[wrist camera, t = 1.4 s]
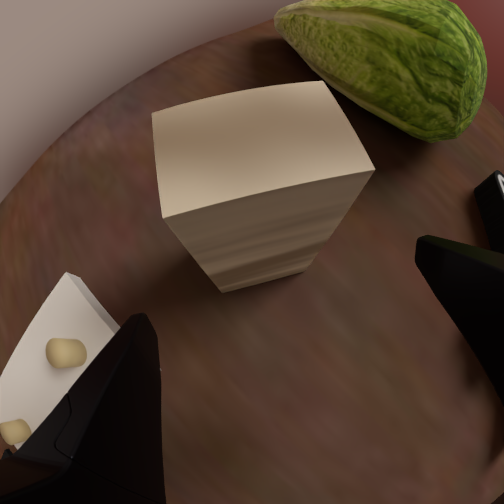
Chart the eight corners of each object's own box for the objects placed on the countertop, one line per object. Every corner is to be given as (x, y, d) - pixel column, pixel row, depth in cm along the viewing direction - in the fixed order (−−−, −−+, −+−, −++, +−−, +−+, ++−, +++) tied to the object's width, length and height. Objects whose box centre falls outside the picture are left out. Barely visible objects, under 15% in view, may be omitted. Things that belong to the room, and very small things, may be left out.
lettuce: (250, 96, 31) (328, 69, 36) (446, 182, 18) (480, 129, 22) (229, -13, 19) (321, -16, 24) (480, 3, 6) (499, 21, 11)
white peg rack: (161, 369, 18) (135, 377, 14) (59, 481, 14) (33, 496, 10) (79, 277, 20) (46, 263, 16) (0, 402, 16) (-29, 405, 12)
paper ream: (305, 270, 20) (375, 169, 7) (222, 293, 19) (162, 218, 7) (287, 217, 21) (320, 77, 8) (209, 237, 21) (151, 109, 8)
